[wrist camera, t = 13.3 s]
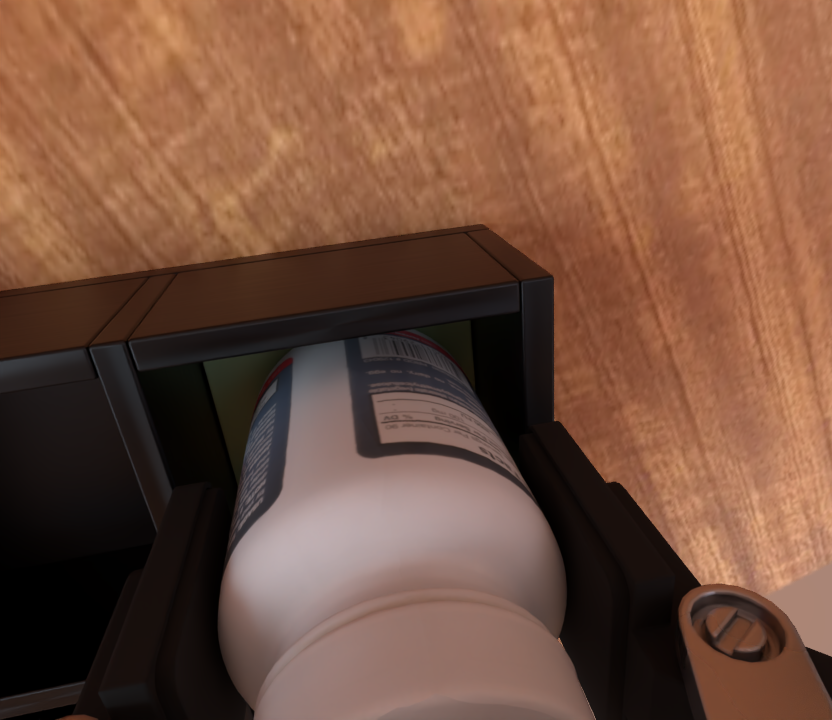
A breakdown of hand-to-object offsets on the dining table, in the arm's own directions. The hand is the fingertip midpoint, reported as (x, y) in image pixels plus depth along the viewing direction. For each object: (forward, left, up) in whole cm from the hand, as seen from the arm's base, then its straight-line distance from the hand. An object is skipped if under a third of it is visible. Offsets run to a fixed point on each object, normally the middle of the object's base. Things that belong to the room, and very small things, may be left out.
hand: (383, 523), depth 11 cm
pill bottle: (0, 0, -4) cm, 4 cm away
